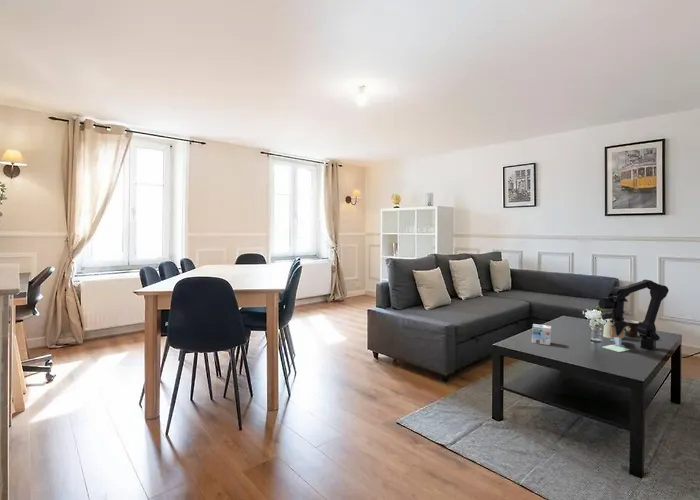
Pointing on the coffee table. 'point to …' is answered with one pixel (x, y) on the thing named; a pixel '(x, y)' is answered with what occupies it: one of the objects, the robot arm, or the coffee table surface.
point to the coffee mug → (631, 328)
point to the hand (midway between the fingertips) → (616, 334)
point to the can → (607, 329)
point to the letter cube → (613, 332)
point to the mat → (615, 348)
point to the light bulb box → (541, 334)
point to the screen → (617, 342)
